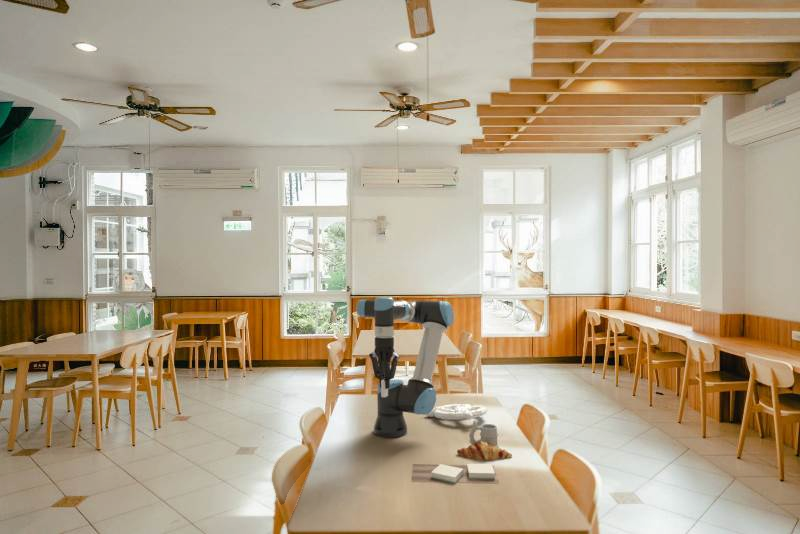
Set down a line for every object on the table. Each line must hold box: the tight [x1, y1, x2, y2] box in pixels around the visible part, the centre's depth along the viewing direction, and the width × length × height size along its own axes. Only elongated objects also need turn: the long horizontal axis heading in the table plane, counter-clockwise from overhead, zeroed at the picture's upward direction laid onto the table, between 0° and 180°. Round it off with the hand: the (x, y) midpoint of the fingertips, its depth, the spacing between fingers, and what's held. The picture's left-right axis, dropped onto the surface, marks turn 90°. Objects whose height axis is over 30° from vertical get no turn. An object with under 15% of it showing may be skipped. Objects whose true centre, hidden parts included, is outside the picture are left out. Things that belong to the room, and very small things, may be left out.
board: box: [411, 463, 500, 485], centre depth 177 cm, size 15×30×1 cm, turn 87°
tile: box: [431, 463, 464, 484], centre depth 175 cm, size 8×2×9 cm
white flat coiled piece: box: [425, 403, 488, 421], centre depth 244 cm, size 28×24×6 cm
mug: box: [468, 420, 500, 448], centre depth 202 cm, size 8×12×12 cm, turn 84°
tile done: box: [466, 463, 496, 479], centre depth 177 cm, size 8×9×2 cm
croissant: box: [456, 442, 513, 462], centre depth 193 cm, size 21×10×8 cm, turn 84°
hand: (384, 396), depth 194 cm, fingers closed
